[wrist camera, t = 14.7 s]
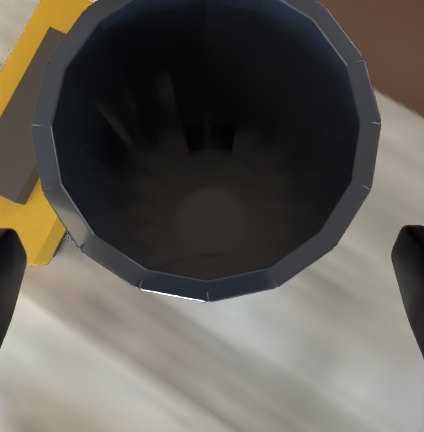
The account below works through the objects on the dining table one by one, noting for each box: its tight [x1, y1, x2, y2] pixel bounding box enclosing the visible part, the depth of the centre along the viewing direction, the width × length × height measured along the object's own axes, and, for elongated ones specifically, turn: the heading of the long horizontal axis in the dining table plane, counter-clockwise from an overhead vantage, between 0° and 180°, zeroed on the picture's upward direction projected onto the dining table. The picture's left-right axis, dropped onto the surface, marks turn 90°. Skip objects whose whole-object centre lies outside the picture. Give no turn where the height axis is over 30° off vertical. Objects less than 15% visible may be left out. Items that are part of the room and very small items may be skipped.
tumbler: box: [31, 0, 381, 302], centre depth 13 cm, size 6×6×12 cm
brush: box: [0, 0, 93, 265], centre depth 18 cm, size 12×6×4 cm, turn 154°
